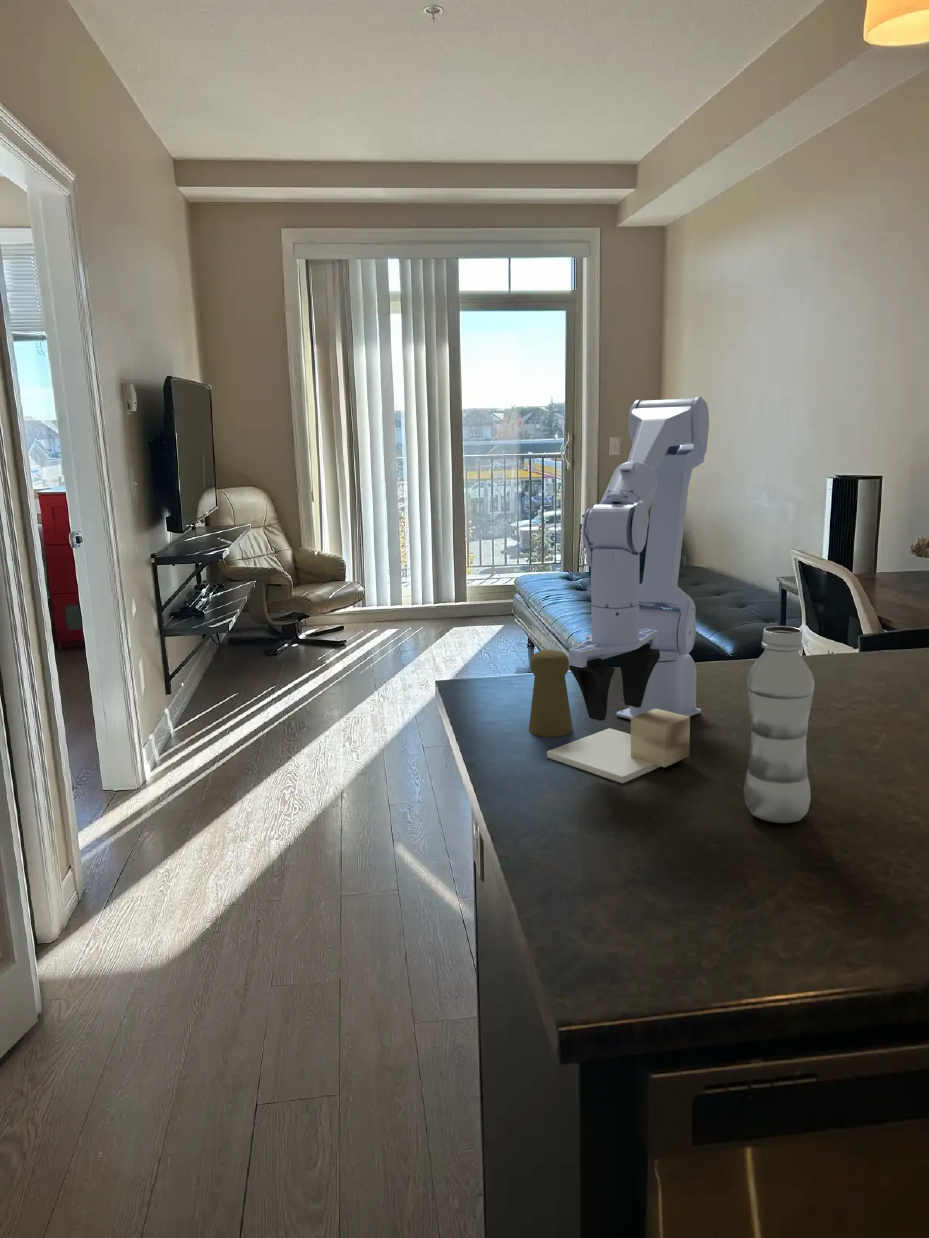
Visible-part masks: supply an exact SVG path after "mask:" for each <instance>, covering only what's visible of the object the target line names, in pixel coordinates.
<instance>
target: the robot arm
mask: <svg viewBox="0 0 929 1238" xmlns="http://www.w3.org/2000/svg"><path fill="white" fill-rule="evenodd" d="M709 414H710V413H709V407H708V403H707V402H706V400H705V399H704V398H703V397H702V396H696V397H689V398H672V399H671V398H669V399H649V400H643V399H637V400H635V401H634V402H633V404H632V405H631V406H630V409H629V413H628V420H627V424H628V435H629V438H630V440H631V442H632V445H631V449H630V451H629V455H628V458H627V461H626V462H623V463H621V464H619V465H618V466H617V467H616V468H615V469H614V472H613V474H612V475H611V478H610V479H609V482H608V485H607V487H606V488H605V491H604V494H603V495H602V499H600V502H599V503H596V504H594V505H593V507H590V508H588V509H587V511H586V512H585V516H584V519H583V524H582V539H583V540H582V541H583V544H584V548H585V552H586V563H587V566H588V567H590V606H591V607H590V609H591V611H590V615H591V620H590V621H591V622H590V623H591V624H590V625H591V630H590V631H591V634H589V635H586V636H585V637H586V639H585V641H584V642H581V644H579V645H578V646H575V647H572V648H570V649H568V661H569V669H568V670H570V672H571V674H572V675H573V676H574V678H575V680H576V682H577V684H578V686H579V689H580V691H581V694H582V697H583V700H584V704H585V707H586V712H587V715H588V718H590V719H593V720H596V721H599V722H602V721H605V720H606V717H607V711H608V696H609V689H610V685H611V681H612V679H613V675H614V673H615V671H616V668H615V667H611V666H607V665H605V663H604V662H603V660H605V659H608V658H611V657H615V656H616V657H617V660H618V664H619V667H620V672H621V677H622V678H621V679H622V692H623V693H622V695H623V701H624V705H625V706H629V707H627V708H625V709H623V710H619V711H616V716H617V717H619V718H623V719H628V720H630V721H631V718H632V717H635V716H637V715H640V714H642V713H645V712H648V711H650V710H653V709H655V708H656V709H660V710H664V711H668V712H672V713H676V714H680V715H685V716H689V717H690V718H691V717H692V716H694V715H698V714H700V713H701V712H702V709H701V708H698V707H696V706H697V666H696V663H695V660H694V659H693V657H692V655H691V654H690V652H691V651H692V650H693V649H694V645H695V640H696V634H697V633H696V632H697V623H696V609H697V607H696V604H695V601H694V600H693V599H692V597H691V596H690V595H688V594H687V593H686V592H684V590H683V589H682V588H680V587H679V585H678V582H679V573H680V566H681V556H682V548H683V537H684V530H685V520H686V511H687V502H688V494H689V486H690V481H691V478H692V477H691V476H692V472H693V469H695V468H696V467H698V466H700V465H702V464H703V463H704V462H705V455H706V454H707V448H708V439H709V437H708V436H709V430H710V417H709V416H710V415H709ZM650 507H651V508H650ZM649 510H650V516H649ZM646 542H647V543H646ZM645 546H646V548H645ZM644 548H645V549H646V551H645V557H644V558H645V559H644V566H643V567H644V568H643V577H642V583H640V553H641V552H642V551H643V550H644Z"/></svg>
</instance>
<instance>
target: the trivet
mask: <svg viewBox="0 0 929 1238" xmlns="http://www.w3.org/2000/svg"><path fill="white" fill-rule="evenodd" d="M546 757H547V758H548V759H550V760H554V761H556V762H560V763H563V764H565V765H568V766H570V767H573V768H577V769H580V770H583V771H586V772H589V773H592V774H594V775H597V776H600V777H603V778H606V779H607V780H608V779H609V780H612V781H614V782H617V783H619V784H625V783H627V782H629V781H631V780H634V779H636V778H639V777H640V776H642V775H645V774H648V773H649V772H651V771H654V770H656V769H658V768H661V767H662V766H658V765H655V764H652V763H649V762H645V761H642V760H639V759H635V758H632V757H631V733H627V732H624V731H620V730H617V729H613V728H611V727H608V728H605V729H604V730H601V731H598V732H595V733H593V734H590V735H587V736H585V737H581V738H579V739H577V740H574V741H572V742H569V743H566V744H563V745H561V746H559V747H555V748H553V749H549V750H547V751H546Z"/></svg>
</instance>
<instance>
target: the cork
mask: <svg viewBox="0 0 929 1238" xmlns="http://www.w3.org/2000/svg"><path fill="white" fill-rule="evenodd" d="M529 665H530V669H531V670H530V671H531V672H532V674H533V675H534V677H533V678H534V679H533V680H534V681H533V688H532V696H531V697H532V698H531V705H530V716H529V725H528V732H530V734H532V735H534V736H538V737H546V738H553V737H554V738H555V737H557V738H558V737H563V736H567V735H569V734H570V733H572V732H573V730H574V729H573V723H572V722H573V721H572V717H571V716H572V715H571V714H572V713H571V710H570V701H569V695H568V688H567V680H566V675H567V673H568V672H569V670H570V669H569V656H567V654H566V653H565V652H563V651H560V650H555V649H545V650H544V649H543V650H539V651H536V652H535V653H533V655H532V656H531V658H530V664H529Z"/></svg>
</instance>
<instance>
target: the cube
mask: <svg viewBox="0 0 929 1238" xmlns="http://www.w3.org/2000/svg"><path fill="white" fill-rule="evenodd" d="M690 729H691V716H690V717H689V716H685V715H680V714H676V713H672V712H668V711H664V710H660V709H656V708H655V709H653V710H650V711H648V712H645V713H642V714H640V715H637V716H635V717H632V718H631V720H630V734H631V757H632V758H635V759H639V760H642V761H645V762H649V763H652V764H655V765H658V766H661V767H662V768H667V767H668V766H672V765H673V764H675V763H677V762H680V761H682V760H684V759H686V758H689V757H690V743H691V742H690V741H691V739H690V737H691V736H690V733H691V730H690Z"/></svg>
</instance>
